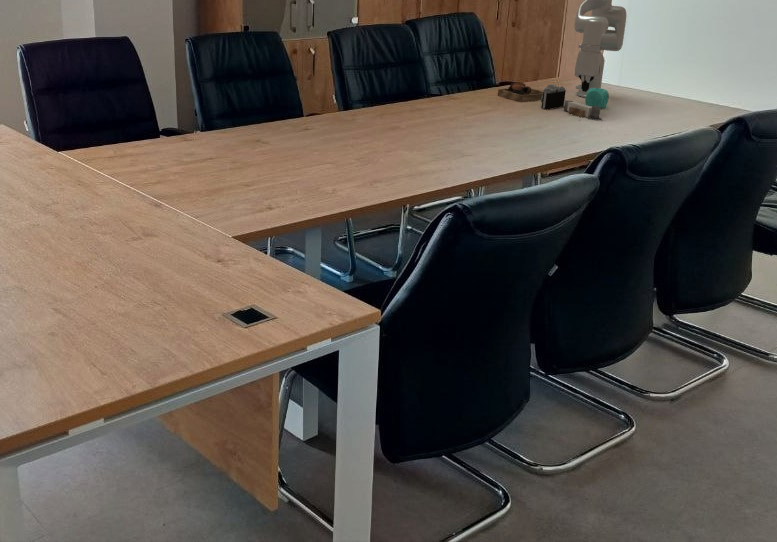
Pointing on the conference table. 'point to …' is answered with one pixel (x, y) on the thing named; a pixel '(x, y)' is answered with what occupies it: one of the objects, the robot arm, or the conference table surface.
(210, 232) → the conference table surface
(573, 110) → the brown and grey piece
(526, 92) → the pottery mug
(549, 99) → the camera
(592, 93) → the decorative dice
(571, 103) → the leg
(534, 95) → the wooden picture frame
